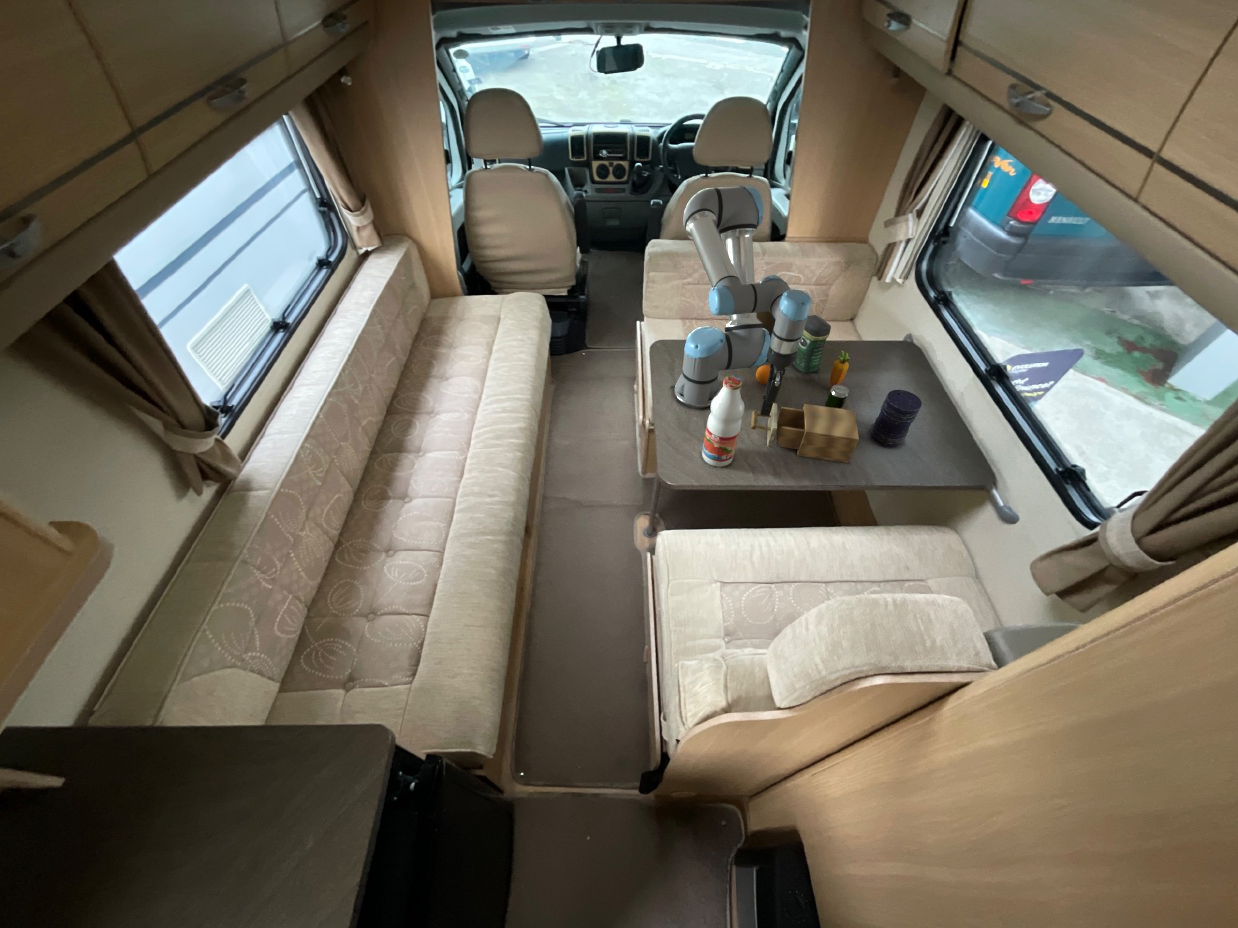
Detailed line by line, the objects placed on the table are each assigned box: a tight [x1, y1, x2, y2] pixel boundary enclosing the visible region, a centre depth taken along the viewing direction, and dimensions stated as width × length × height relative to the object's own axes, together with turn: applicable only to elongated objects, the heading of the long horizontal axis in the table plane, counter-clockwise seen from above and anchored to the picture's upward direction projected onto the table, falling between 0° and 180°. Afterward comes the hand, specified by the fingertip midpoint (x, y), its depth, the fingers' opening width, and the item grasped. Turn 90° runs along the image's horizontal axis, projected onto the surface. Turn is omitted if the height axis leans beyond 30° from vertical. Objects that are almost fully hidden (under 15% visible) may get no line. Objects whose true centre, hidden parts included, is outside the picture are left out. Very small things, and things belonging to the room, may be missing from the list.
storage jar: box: [869, 389, 923, 449], centre depth 168 cm, size 10×10×15 cm
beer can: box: [824, 384, 849, 409], centre depth 175 cm, size 5×5×12 cm
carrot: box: [829, 350, 851, 389], centre depth 184 cm, size 5×5×15 cm
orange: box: [755, 364, 770, 385], centre depth 190 cm, size 6×6×6 cm
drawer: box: [750, 402, 805, 450], centre depth 169 cm, size 19×12×8 cm, turn 79°
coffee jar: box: [792, 314, 832, 374], centre depth 192 cm, size 10×8×19 cm
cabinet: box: [796, 403, 860, 464], centre depth 167 cm, size 15×13×10 cm
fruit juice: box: [701, 375, 745, 468], centre depth 156 cm, size 9×9×28 cm
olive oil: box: [757, 312, 776, 340], centre depth 194 cm, size 11×11×25 cm
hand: (764, 414), depth 167 cm, fingers closed
